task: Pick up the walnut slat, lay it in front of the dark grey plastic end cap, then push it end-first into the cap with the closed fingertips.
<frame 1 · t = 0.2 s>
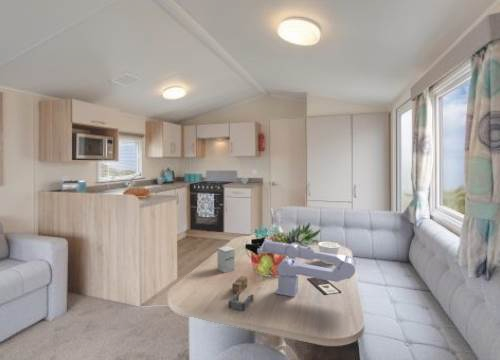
hand: (248, 243, 144), 21 cm above the table, tool horizontal, fingers open, 7 cm apart
supplement box: (226, 269, 166), on the table
chocolate bar: (323, 286, 145), on the table
slat: (240, 290, 140), on the table
end cap: (239, 305, 125), on the table
cup: (328, 262, 178), on the table
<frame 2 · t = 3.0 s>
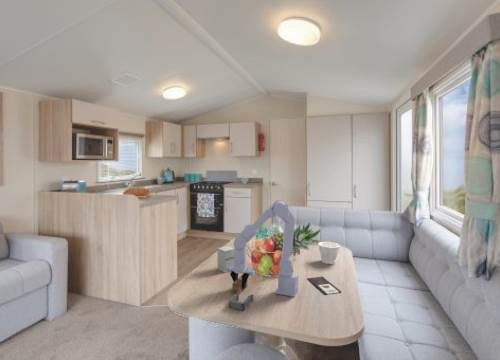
hand: (240, 287, 140), 1 cm above the table, tool pointing down, fingers closed on slat, 3 cm apart
slat: (240, 290, 140), on the table, touching gripper
everything else where it was.
when the fingers open (2 cm above the table, at t = 6.2 s): slat moves 1 cm, on the table.
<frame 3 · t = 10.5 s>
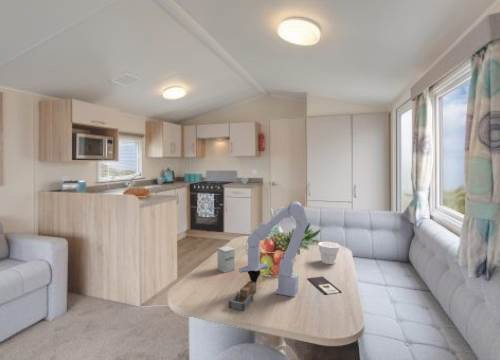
hand: (253, 284, 140), 2 cm above the table, tool pointing down, fingers closed
slat: (248, 296, 134), on the table, touching gripper
everything else where it was.
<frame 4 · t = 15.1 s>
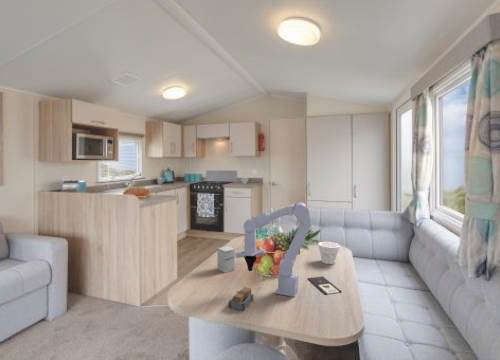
hand: (250, 270, 141), 9 cm above the table, tool pointing down, fingers closed
slat: (242, 303, 128), on the table
everything else where it was.
at the end: slat 0.3 cm from the target spot, on the table; slat tilted 0°; the gripper is holding nothing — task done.
